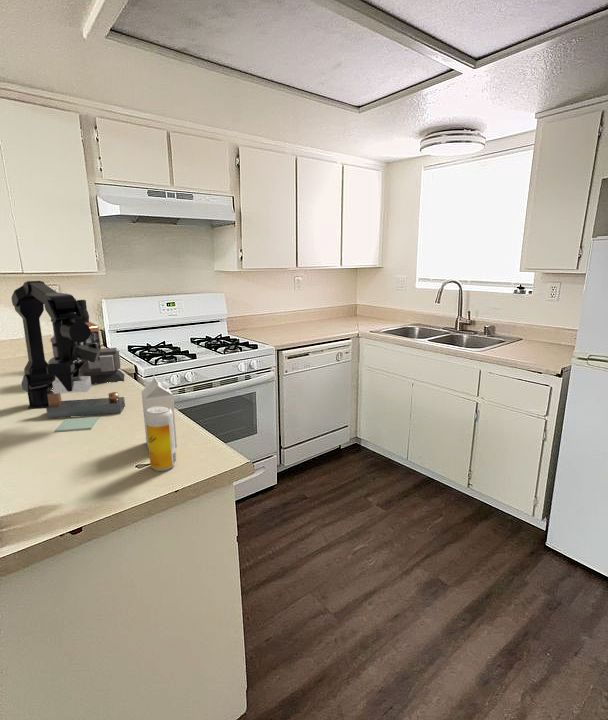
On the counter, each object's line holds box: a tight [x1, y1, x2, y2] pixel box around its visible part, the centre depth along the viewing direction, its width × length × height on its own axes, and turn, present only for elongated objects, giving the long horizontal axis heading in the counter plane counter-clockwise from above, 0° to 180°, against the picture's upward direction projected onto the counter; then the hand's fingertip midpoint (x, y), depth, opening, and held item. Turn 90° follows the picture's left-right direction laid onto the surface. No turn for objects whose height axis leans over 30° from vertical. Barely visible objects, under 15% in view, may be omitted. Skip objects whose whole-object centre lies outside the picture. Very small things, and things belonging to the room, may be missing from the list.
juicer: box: [47, 335, 125, 390], centre depth 170 cm, size 30×16×24 cm, turn 112°
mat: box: [54, 416, 100, 433], centre depth 127 cm, size 10×9×1 cm
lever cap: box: [52, 376, 92, 394], centre depth 125 cm, size 9×5×4 cm, turn 102°
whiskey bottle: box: [76, 299, 102, 349], centre depth 191 cm, size 10×10×32 cm
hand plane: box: [45, 391, 126, 419], centre depth 137 cm, size 22×7×8 cm, turn 102°
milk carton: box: [141, 375, 178, 449], centre depth 112 cm, size 7×7×19 cm
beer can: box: [146, 405, 177, 472], centre depth 100 cm, size 6×6×15 cm
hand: (72, 388), depth 125 cm, fingers closed on lever cap, 5 cm apart
